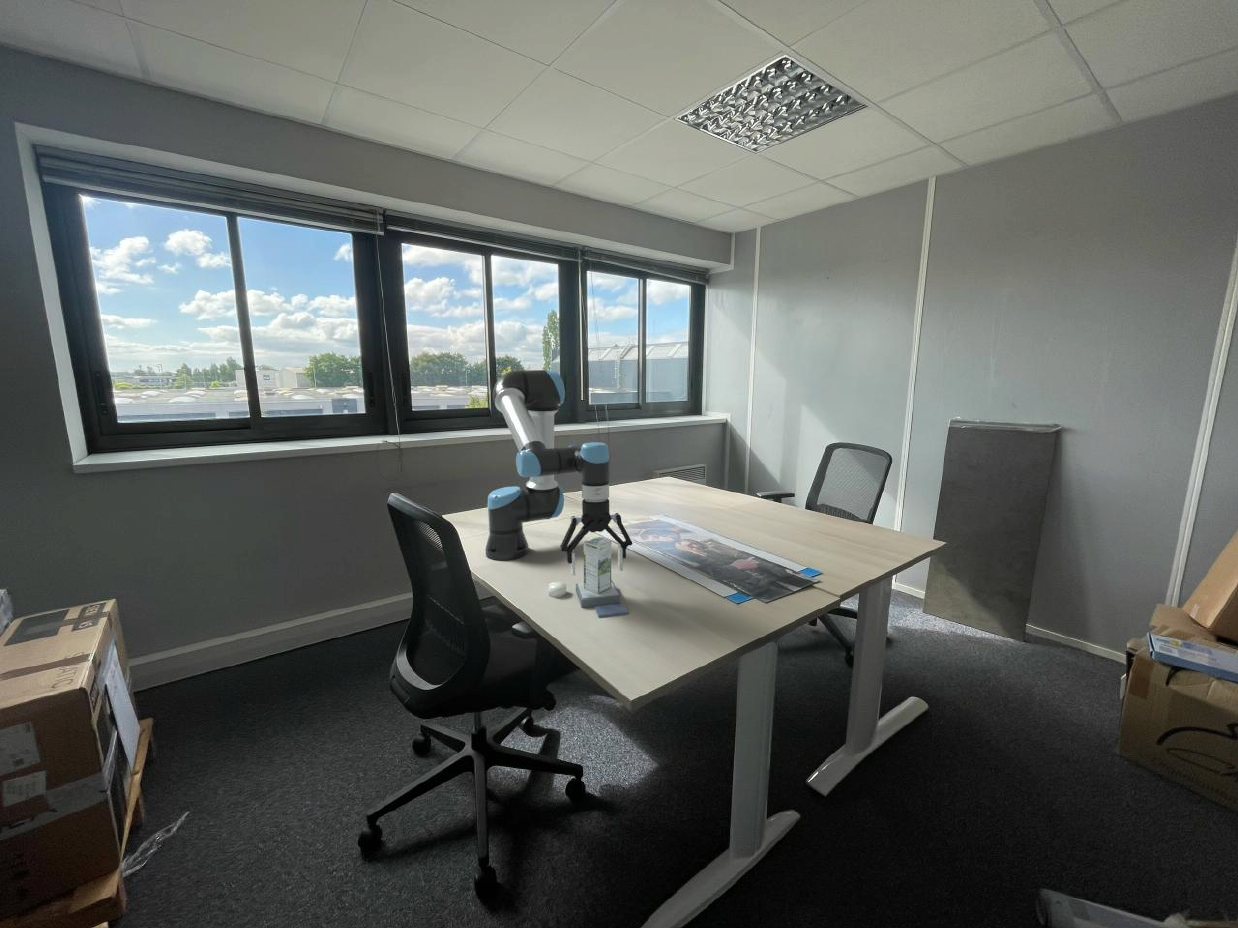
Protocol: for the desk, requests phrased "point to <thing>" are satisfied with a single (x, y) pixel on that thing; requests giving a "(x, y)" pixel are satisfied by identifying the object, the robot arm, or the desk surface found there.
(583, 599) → the podium
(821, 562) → the desk surface
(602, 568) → the syrup box
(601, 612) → the navy notebook
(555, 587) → the white dome
